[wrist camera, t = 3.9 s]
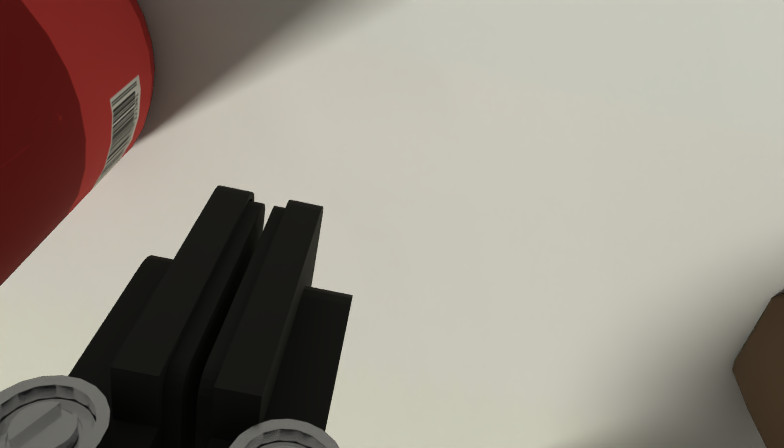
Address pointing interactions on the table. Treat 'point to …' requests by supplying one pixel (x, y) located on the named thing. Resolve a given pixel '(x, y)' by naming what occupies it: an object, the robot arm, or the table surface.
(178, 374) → the robot arm
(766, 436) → the beer bottle
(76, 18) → the canned food
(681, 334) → the table surface
